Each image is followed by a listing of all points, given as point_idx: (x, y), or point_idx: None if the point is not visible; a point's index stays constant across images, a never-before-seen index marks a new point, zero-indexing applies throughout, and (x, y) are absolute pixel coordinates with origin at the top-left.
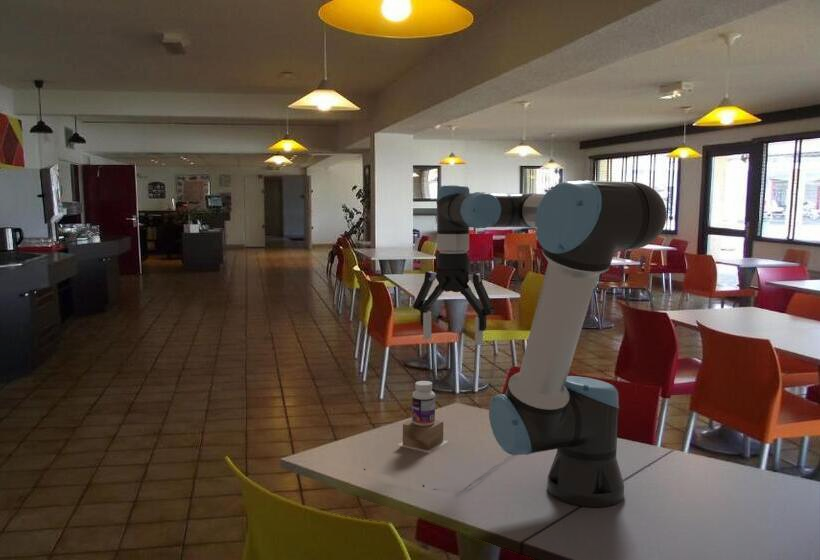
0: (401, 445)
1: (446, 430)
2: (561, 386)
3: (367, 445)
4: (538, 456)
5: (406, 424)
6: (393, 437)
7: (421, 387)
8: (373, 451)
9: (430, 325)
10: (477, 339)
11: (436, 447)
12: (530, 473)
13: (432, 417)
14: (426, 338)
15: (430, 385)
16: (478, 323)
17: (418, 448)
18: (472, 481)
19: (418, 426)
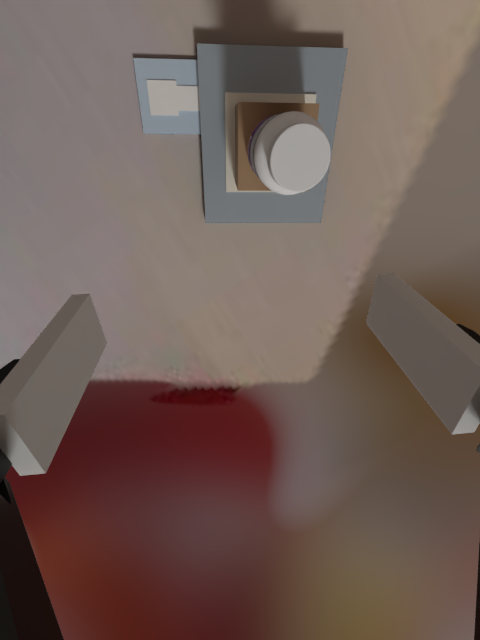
0: (305, 98)
1: (273, 269)
2: None
3: (389, 86)
4: (62, 243)
5: (309, 107)
6: (352, 173)
7: (293, 124)
8: (362, 54)
9: (401, 357)
10: (63, 311)
11: (229, 138)
12: (9, 148)
13: (248, 146)
14: (379, 280)
15: (269, 155)
16: (8, 382)
17: None
18: (62, 8)
19: (273, 111)
